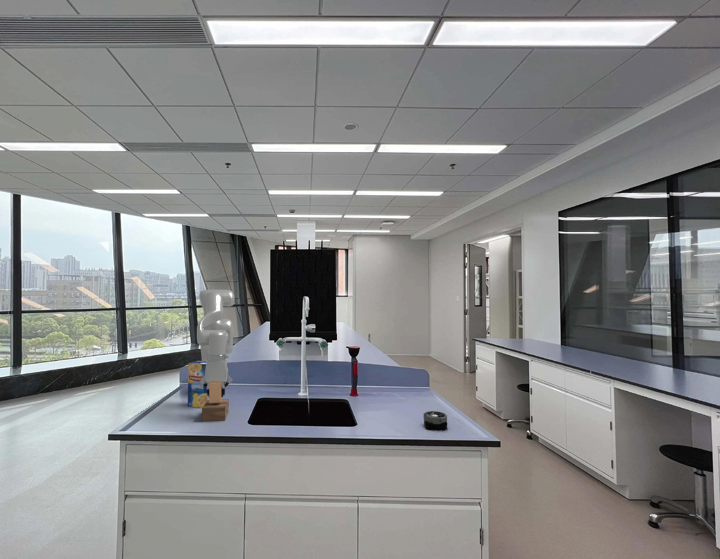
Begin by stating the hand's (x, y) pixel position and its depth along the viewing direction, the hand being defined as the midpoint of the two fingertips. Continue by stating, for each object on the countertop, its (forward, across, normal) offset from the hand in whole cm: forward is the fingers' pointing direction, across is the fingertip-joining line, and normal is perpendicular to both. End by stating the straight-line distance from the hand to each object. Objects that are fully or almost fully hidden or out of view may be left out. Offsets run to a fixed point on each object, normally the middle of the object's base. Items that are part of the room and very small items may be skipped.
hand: (216, 396), depth 188 cm
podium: (+9, 0, 0) cm, 9 cm away
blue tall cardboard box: (+10, +10, -20) cm, 24 cm away
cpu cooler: (+10, -97, +32) cm, 102 cm away
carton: (+2, 0, 0) cm, 2 cm away
